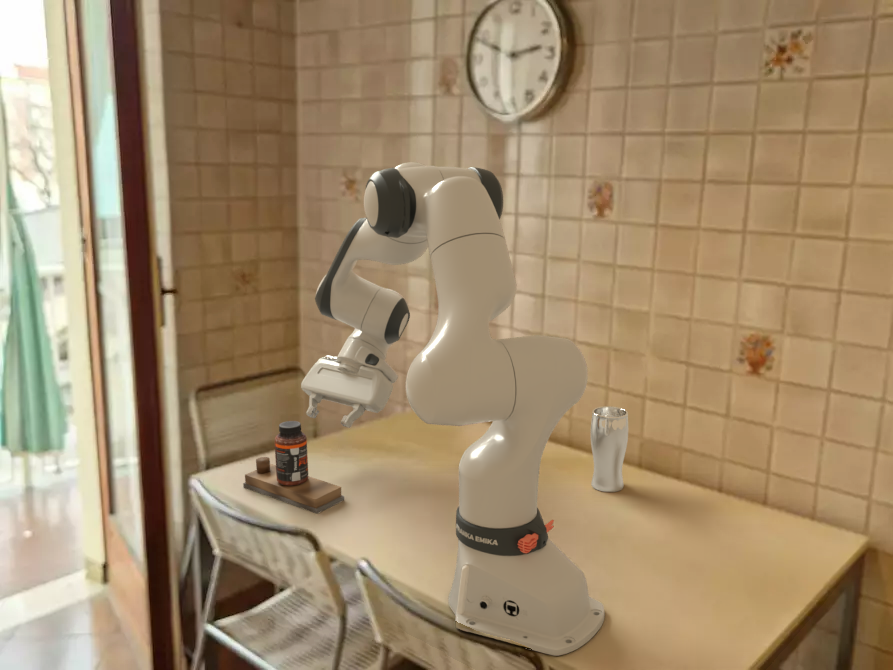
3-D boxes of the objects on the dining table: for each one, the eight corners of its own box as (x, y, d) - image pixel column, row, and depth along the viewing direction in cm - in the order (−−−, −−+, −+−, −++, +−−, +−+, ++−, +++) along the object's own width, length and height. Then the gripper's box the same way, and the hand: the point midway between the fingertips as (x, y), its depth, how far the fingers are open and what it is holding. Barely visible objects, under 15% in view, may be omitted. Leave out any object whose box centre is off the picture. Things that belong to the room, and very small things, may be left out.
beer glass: (623, 478, 162) (626, 406, 159) (627, 494, 156) (631, 418, 152) (587, 477, 163) (590, 405, 160) (590, 492, 156) (592, 417, 153)
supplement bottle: (305, 487, 154) (302, 429, 151) (273, 487, 154) (270, 429, 151) (311, 474, 160) (308, 418, 157) (280, 474, 160) (277, 418, 157)
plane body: (344, 500, 154) (342, 475, 153) (317, 513, 149) (315, 487, 148) (271, 475, 166) (269, 451, 165) (243, 487, 161) (241, 462, 159)
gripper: (314, 346, 172) (281, 403, 167) (389, 361, 160) (357, 423, 155) (330, 361, 177) (299, 418, 171) (404, 378, 165) (373, 439, 159)
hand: (327, 421), depth 163 cm, fingers open, 8 cm apart
